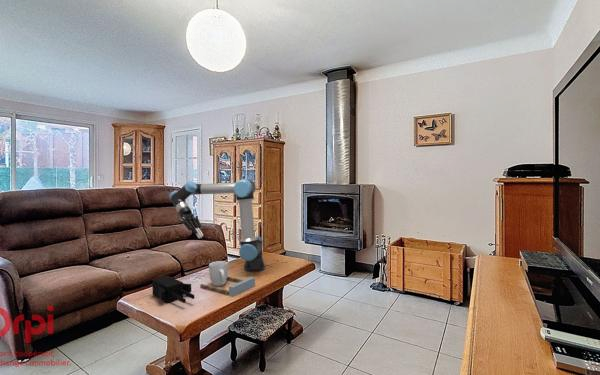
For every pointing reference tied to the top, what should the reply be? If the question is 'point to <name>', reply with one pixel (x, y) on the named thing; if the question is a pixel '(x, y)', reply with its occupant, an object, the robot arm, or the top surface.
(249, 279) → the stop
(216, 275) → the mug
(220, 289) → the channel
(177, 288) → the black power adapter
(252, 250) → the robot arm
